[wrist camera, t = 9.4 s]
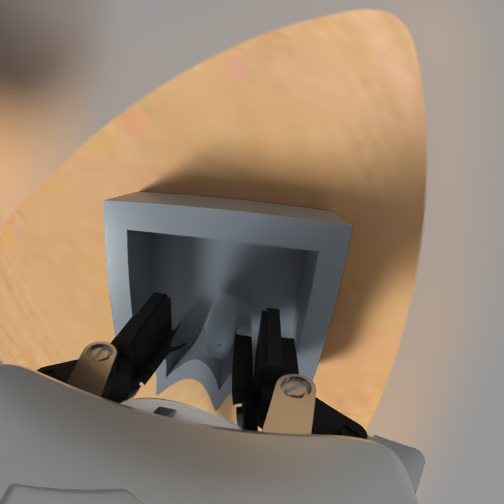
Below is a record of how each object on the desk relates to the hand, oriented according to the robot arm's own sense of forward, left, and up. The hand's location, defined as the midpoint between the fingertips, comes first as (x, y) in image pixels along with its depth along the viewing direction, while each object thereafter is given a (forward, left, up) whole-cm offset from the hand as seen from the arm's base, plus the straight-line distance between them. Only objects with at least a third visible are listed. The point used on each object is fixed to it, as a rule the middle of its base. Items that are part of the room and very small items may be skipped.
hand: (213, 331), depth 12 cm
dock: (0, 0, -4) cm, 4 cm away
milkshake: (0, 0, -2) cm, 2 cm away
